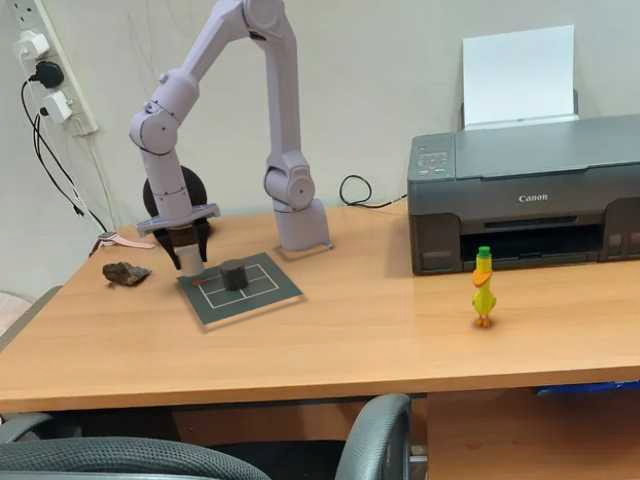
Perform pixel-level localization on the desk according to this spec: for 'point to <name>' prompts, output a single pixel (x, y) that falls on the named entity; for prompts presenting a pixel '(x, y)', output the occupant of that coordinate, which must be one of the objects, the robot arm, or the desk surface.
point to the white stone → (190, 261)
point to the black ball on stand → (197, 197)
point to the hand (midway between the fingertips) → (191, 264)
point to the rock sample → (124, 272)
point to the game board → (221, 303)
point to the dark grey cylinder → (234, 274)
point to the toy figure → (483, 286)
